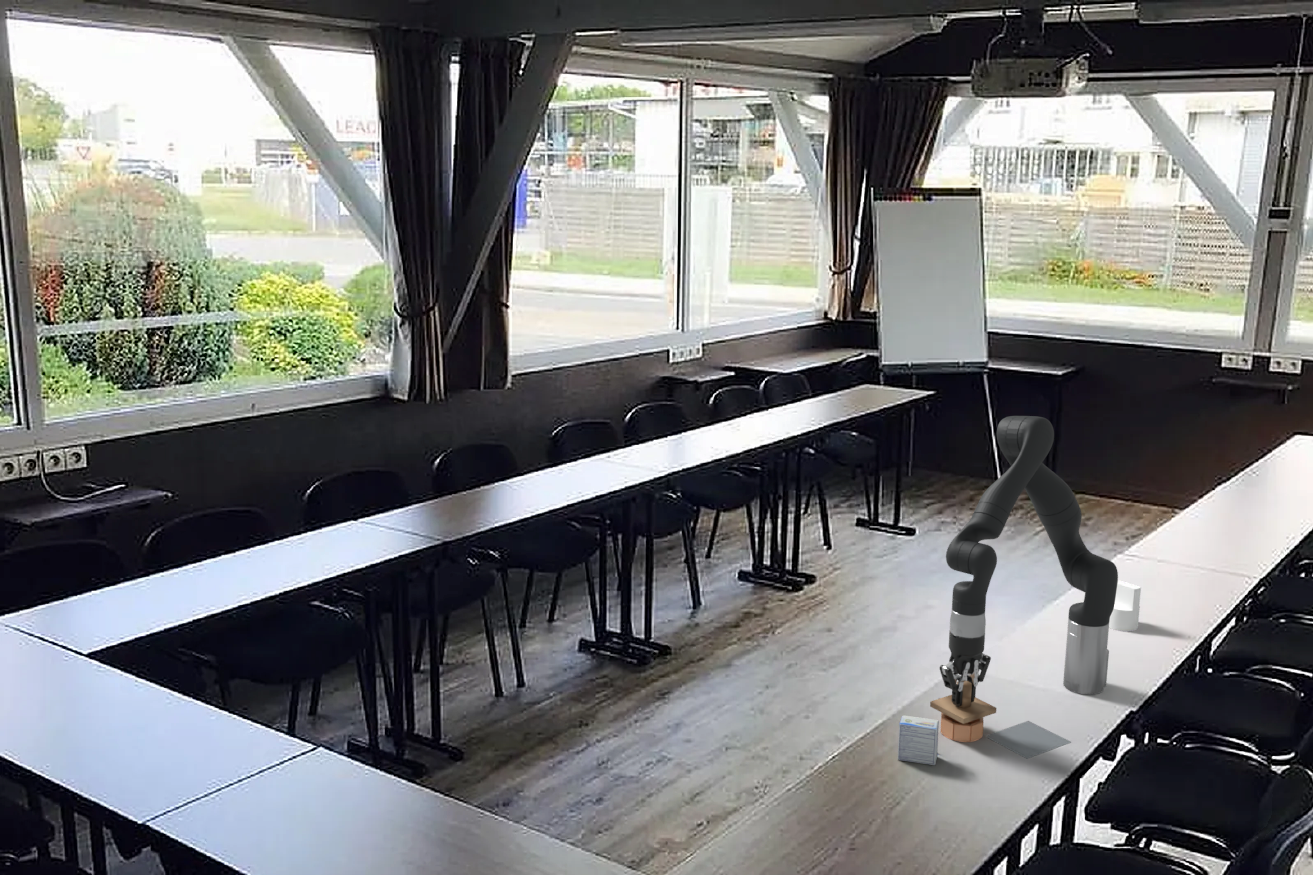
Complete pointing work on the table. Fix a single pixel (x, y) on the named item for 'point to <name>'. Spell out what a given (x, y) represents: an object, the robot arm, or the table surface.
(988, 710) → the lid
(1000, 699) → the table surface
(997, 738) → the mat
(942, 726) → the bowl
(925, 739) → the medicine box
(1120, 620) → the cylinder with rectangular tab
